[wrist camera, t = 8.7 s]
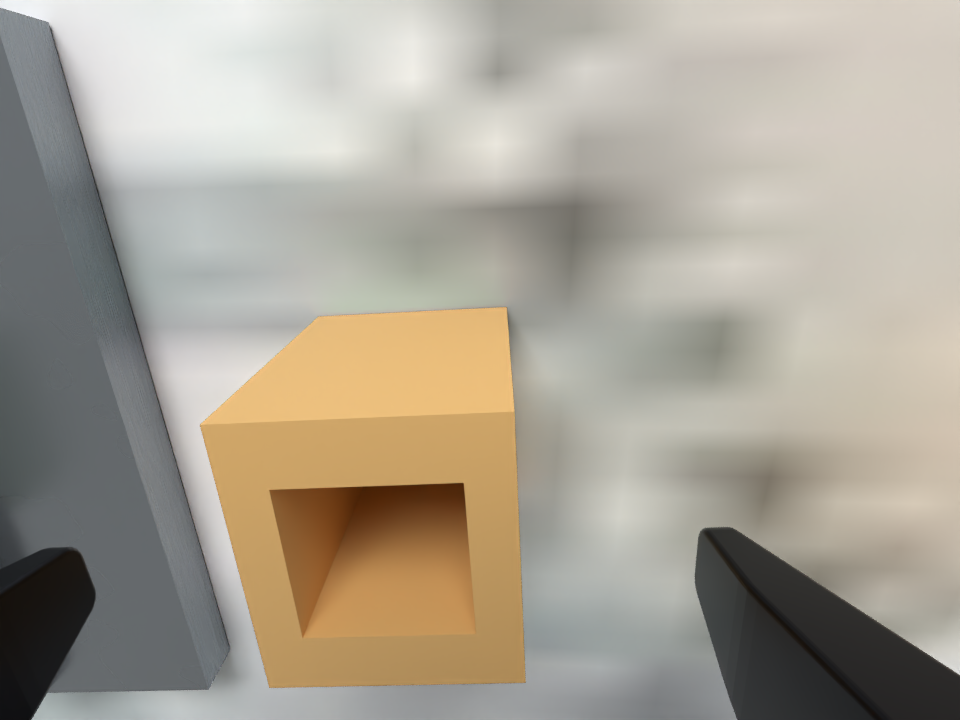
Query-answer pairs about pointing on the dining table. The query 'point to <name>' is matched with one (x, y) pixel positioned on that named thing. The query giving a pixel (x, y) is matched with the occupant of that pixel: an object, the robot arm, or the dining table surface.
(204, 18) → the dining table surface
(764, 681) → the robot arm
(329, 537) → the block
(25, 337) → the housing base
